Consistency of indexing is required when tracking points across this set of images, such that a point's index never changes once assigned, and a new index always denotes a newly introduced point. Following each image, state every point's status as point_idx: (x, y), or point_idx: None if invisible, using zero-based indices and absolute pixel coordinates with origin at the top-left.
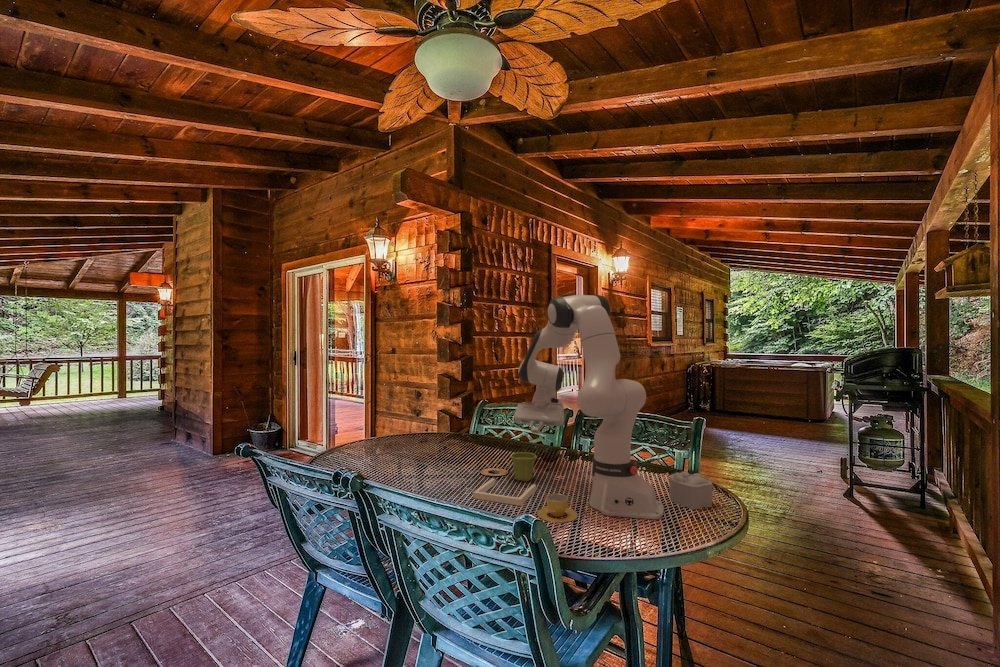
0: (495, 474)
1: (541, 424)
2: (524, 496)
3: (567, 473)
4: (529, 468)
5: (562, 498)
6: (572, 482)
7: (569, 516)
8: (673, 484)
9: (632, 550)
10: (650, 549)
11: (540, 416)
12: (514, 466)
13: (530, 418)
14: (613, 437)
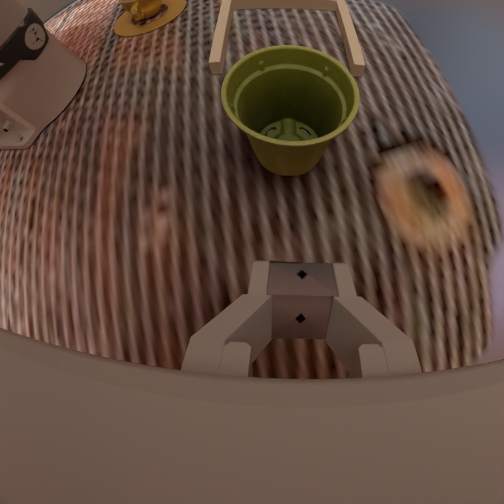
0: (407, 165)
1: (206, 327)
2: (220, 8)
3: (135, 287)
4: (251, 99)
5: (131, 6)
6: (109, 187)
7: (128, 16)
8: None
9: (71, 9)
10: (53, 21)
11: (223, 451)
12: (319, 91)
13: (445, 376)
14: None
